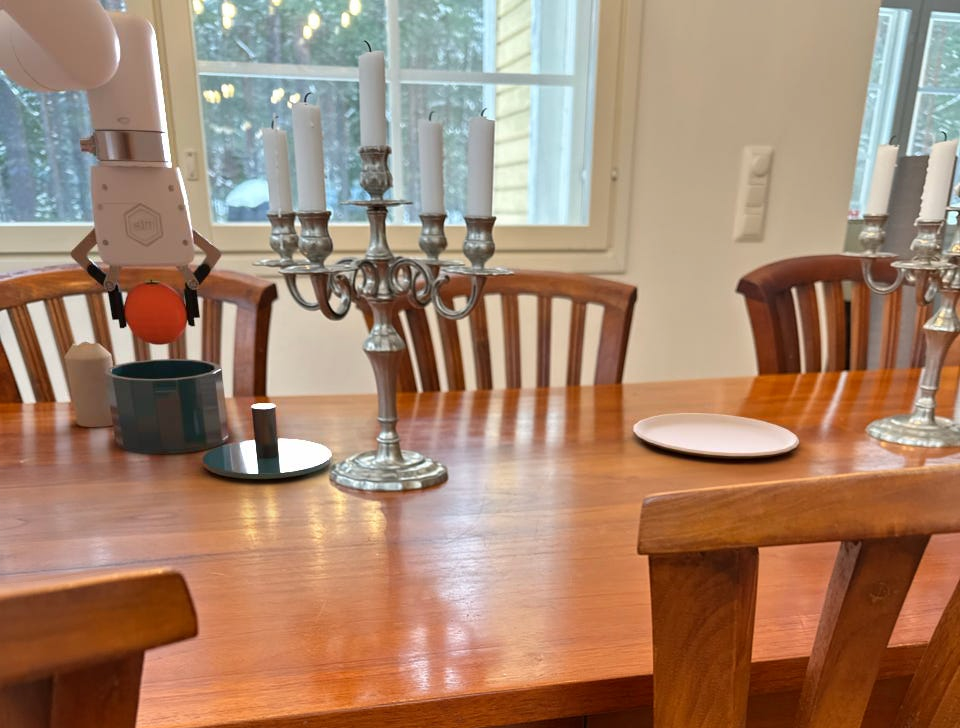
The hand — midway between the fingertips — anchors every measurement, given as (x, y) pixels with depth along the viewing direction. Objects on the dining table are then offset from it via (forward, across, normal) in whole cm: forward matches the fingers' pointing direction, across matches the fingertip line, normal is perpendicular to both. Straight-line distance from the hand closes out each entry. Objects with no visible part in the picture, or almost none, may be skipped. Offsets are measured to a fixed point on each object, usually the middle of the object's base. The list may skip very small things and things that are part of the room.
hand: (157, 324), depth 104 cm
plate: (+14, +66, -17) cm, 70 cm away
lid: (+13, +10, -14) cm, 22 cm away
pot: (+14, 0, 0) cm, 14 cm away
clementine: (+2, 0, 0) cm, 2 cm away
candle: (+14, -9, +11) cm, 20 cm away
